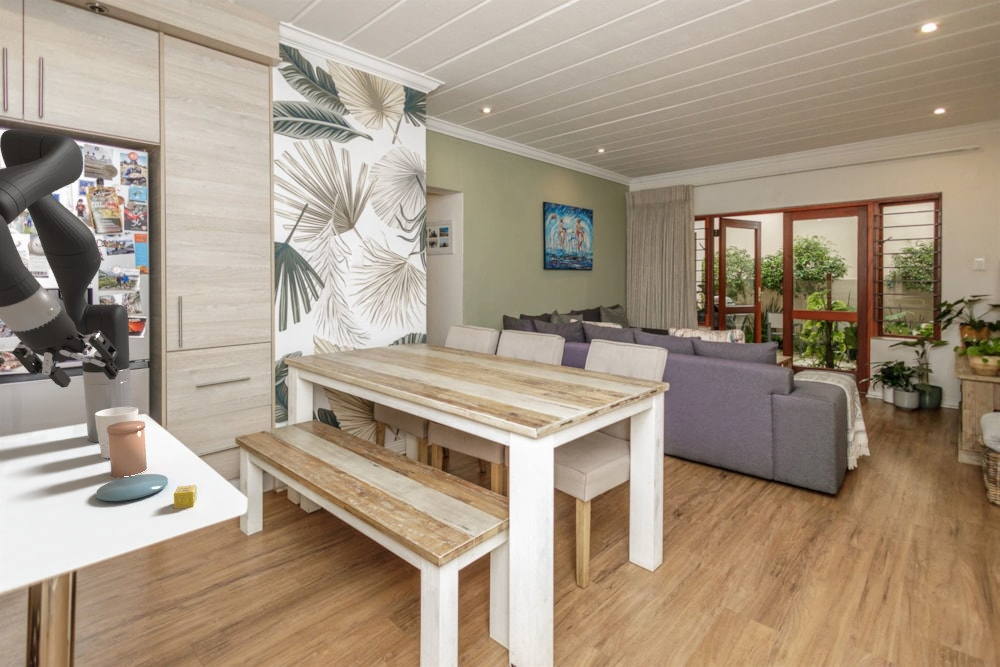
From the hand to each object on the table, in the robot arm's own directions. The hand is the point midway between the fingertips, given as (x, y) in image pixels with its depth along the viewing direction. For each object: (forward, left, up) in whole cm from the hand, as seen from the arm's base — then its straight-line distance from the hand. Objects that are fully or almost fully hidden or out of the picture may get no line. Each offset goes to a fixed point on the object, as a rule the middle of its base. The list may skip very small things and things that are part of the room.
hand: (90, 380), depth 96 cm
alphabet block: (+19, +12, -21) cm, 31 cm away
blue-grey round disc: (+7, +5, -21) cm, 23 cm away
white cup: (-19, +4, -21) cm, 29 cm away
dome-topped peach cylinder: (-5, +5, -21) cm, 22 cm away
